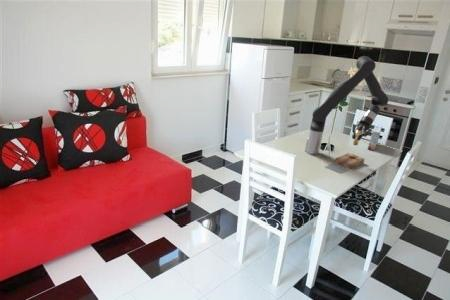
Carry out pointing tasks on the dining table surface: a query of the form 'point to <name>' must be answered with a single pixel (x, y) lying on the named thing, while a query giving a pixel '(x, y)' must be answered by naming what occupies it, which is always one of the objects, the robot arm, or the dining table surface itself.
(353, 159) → the brown flat lump
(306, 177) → the dining table surface
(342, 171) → the rubber mat
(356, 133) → the brass pin
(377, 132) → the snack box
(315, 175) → the dining table surface
